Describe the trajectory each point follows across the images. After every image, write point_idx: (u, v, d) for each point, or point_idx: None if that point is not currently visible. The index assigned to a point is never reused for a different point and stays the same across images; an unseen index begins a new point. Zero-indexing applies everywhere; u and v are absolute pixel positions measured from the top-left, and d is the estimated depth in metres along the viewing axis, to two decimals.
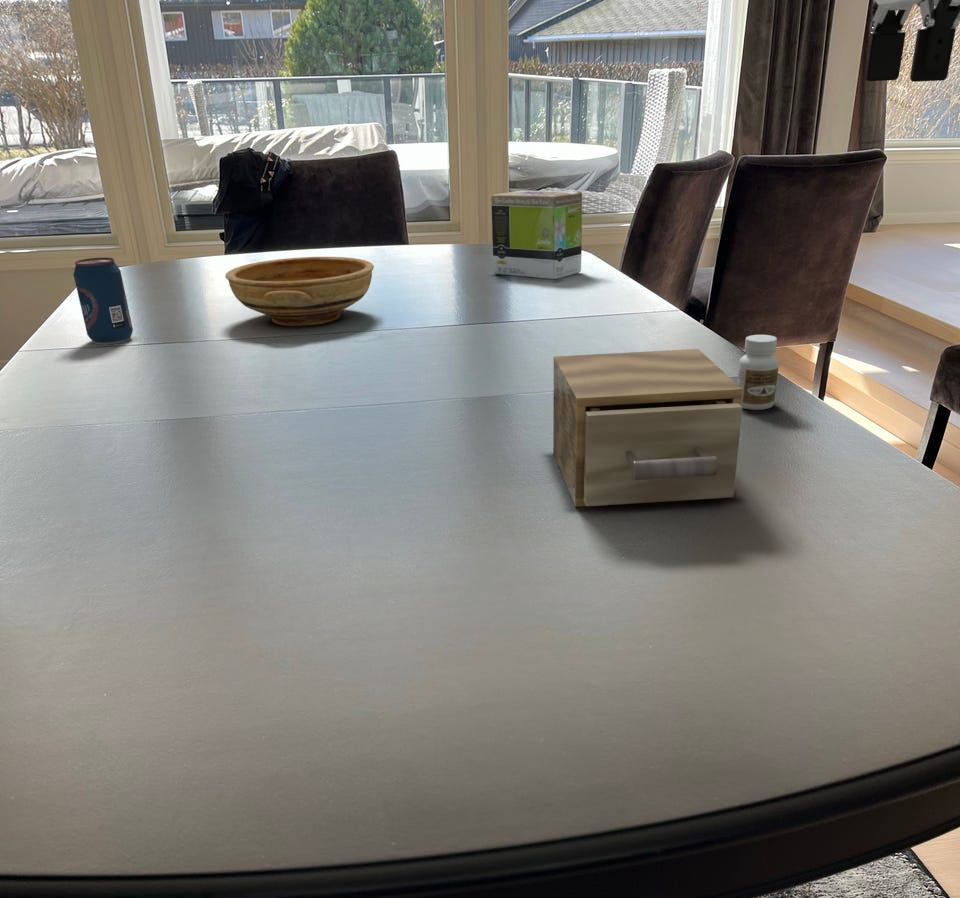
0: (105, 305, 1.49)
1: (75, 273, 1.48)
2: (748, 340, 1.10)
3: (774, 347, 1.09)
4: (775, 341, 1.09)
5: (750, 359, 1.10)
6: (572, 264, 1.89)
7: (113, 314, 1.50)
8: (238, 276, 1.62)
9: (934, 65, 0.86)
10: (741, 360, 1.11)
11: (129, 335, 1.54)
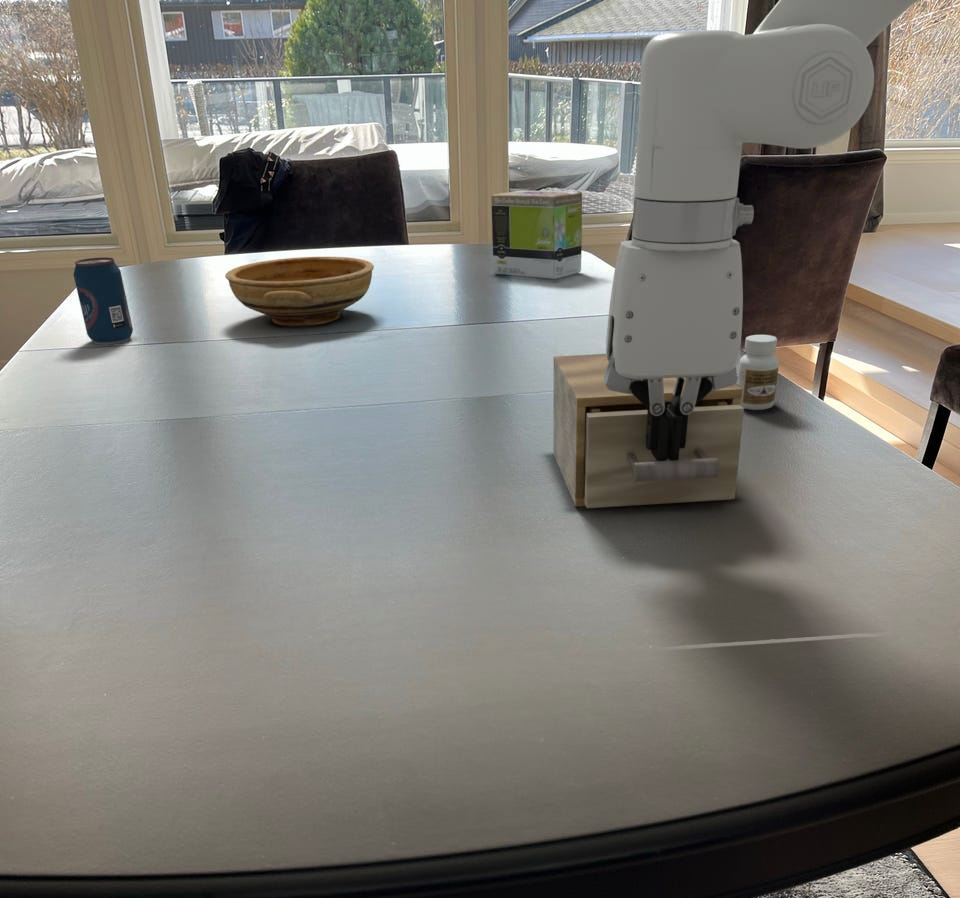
0: (105, 305, 1.49)
1: (75, 273, 1.48)
2: (748, 340, 1.10)
3: (774, 347, 1.09)
4: (775, 341, 1.09)
5: (751, 359, 1.10)
6: (572, 264, 1.89)
7: (113, 313, 1.50)
8: (238, 276, 1.62)
9: None
10: (741, 360, 1.11)
11: (129, 335, 1.54)
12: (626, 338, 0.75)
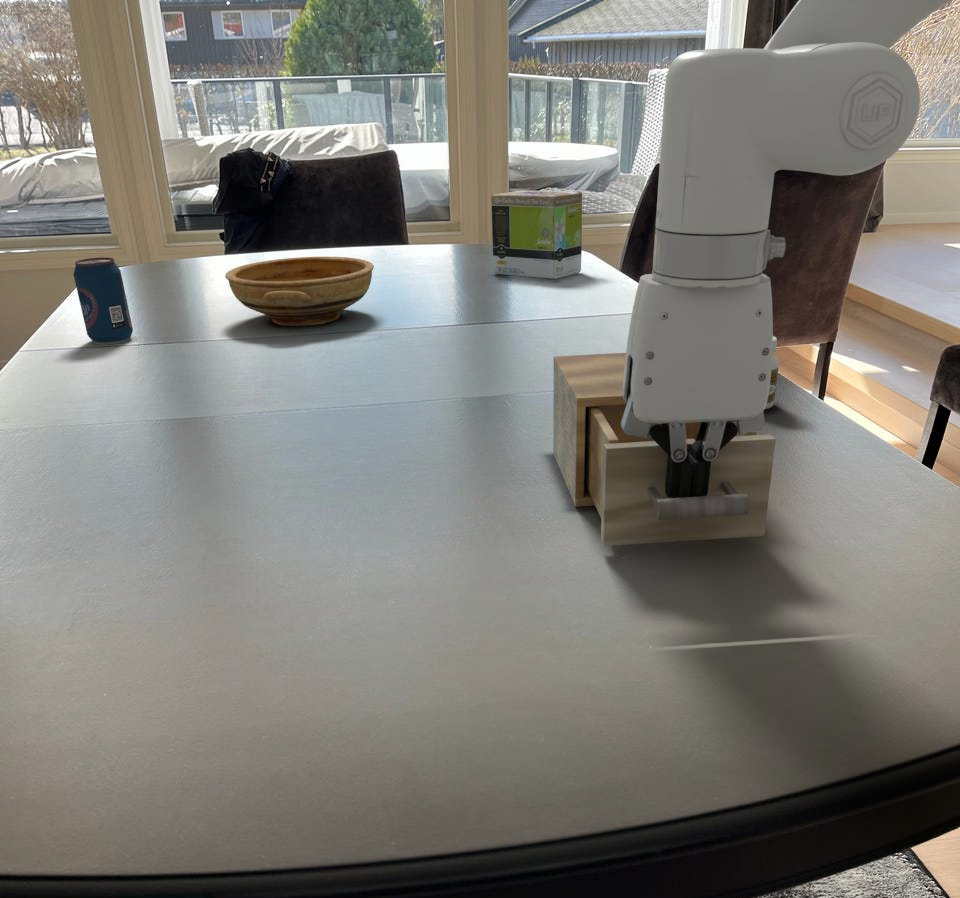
0: (105, 305, 1.49)
1: (75, 273, 1.48)
2: None
3: (774, 347, 1.09)
4: (775, 341, 1.09)
5: None
6: (572, 264, 1.89)
7: (113, 314, 1.50)
8: (238, 276, 1.62)
9: None
10: None
11: (129, 335, 1.54)
12: (646, 380, 0.69)
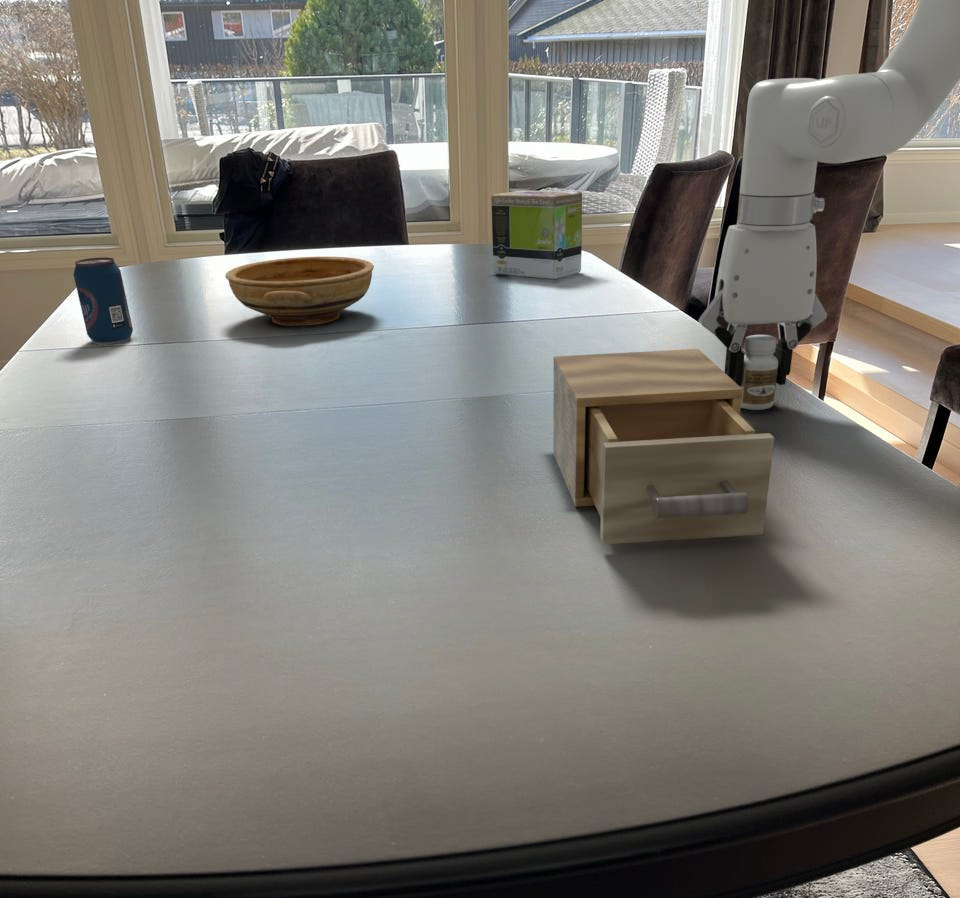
0: (105, 305, 1.49)
1: (75, 273, 1.48)
2: (748, 340, 1.10)
3: (774, 347, 1.09)
4: (775, 341, 1.09)
5: (750, 359, 1.10)
6: (572, 264, 1.89)
7: (113, 313, 1.50)
8: (238, 276, 1.62)
9: None
10: None
11: (129, 335, 1.54)
12: (733, 295, 1.06)
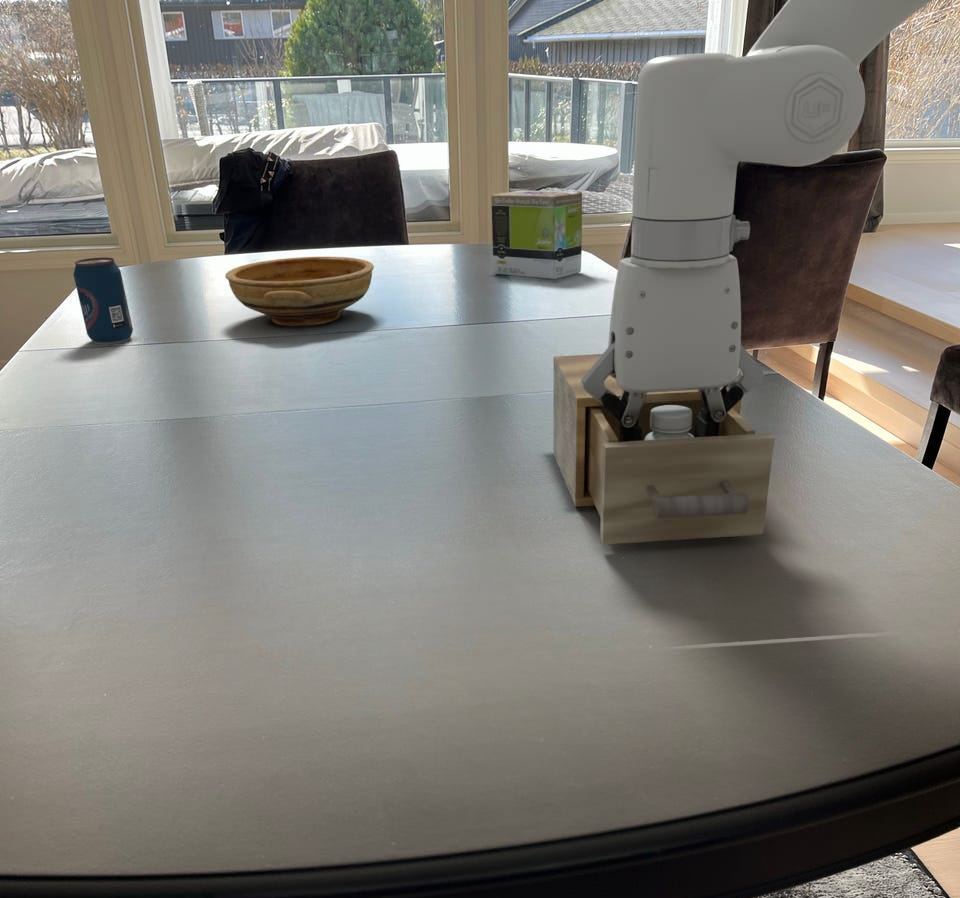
0: (105, 305, 1.49)
1: (75, 273, 1.48)
2: (653, 414, 0.81)
3: (688, 424, 0.81)
4: (689, 416, 0.81)
5: None
6: (572, 264, 1.89)
7: (113, 313, 1.50)
8: (238, 276, 1.62)
9: None
10: None
11: (129, 335, 1.54)
12: (627, 354, 0.77)
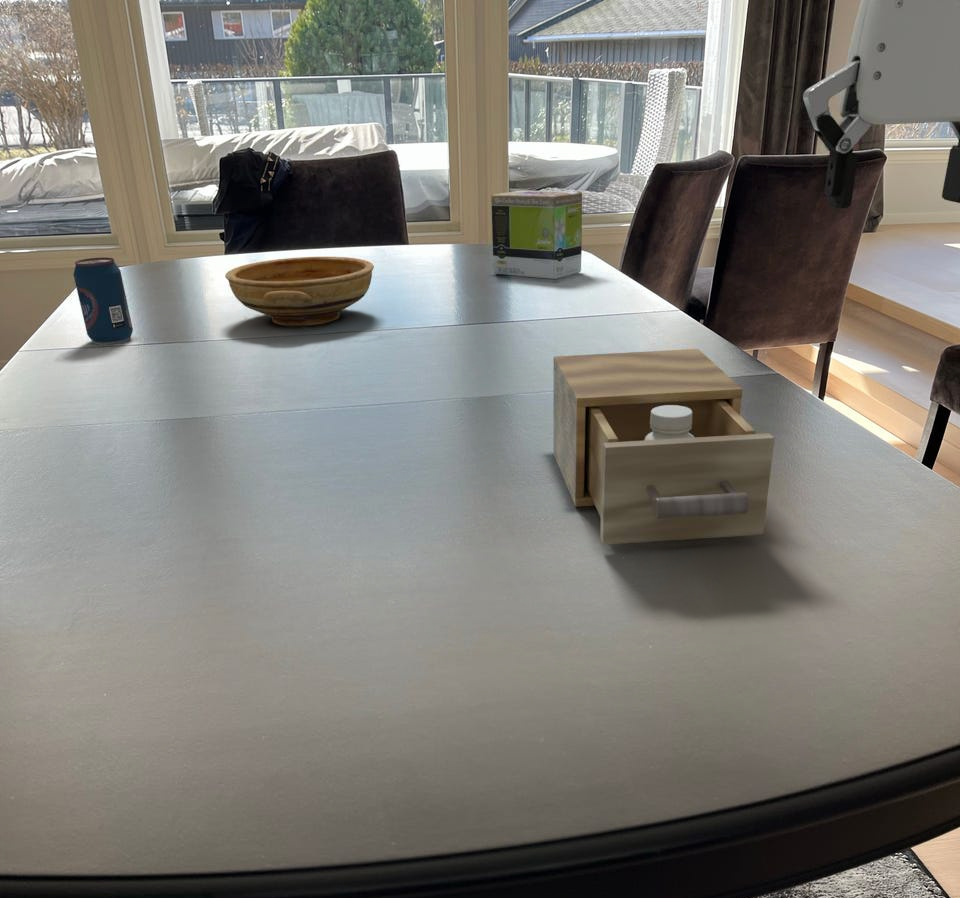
0: (105, 305, 1.49)
1: (75, 273, 1.48)
2: (653, 414, 0.81)
3: (688, 424, 0.81)
4: (689, 416, 0.81)
5: None
6: (572, 264, 1.89)
7: (113, 313, 1.50)
8: (238, 276, 1.62)
9: None
10: None
11: (129, 335, 1.54)
12: (875, 75, 0.73)
